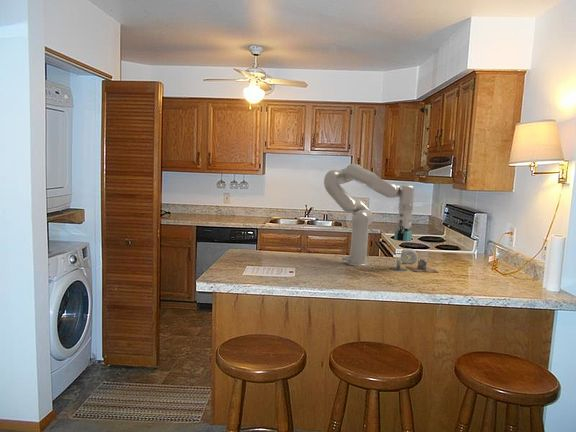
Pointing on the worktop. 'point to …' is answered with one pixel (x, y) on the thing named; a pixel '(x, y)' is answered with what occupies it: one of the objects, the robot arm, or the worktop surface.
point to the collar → (406, 236)
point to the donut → (404, 255)
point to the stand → (398, 267)
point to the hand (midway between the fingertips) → (402, 239)
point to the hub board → (421, 267)
